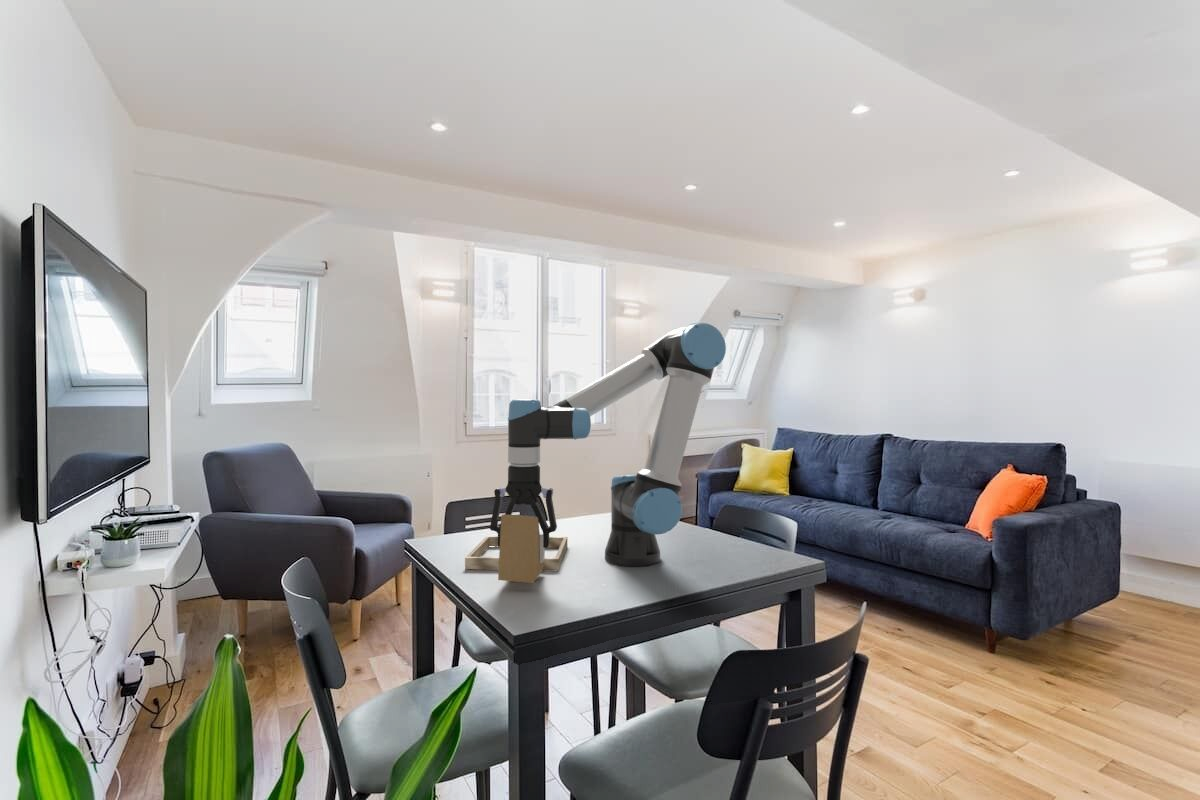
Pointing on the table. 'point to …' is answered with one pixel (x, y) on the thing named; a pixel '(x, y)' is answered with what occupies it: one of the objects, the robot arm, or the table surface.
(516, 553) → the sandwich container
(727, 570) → the table surface
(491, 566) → the pale wooden box
